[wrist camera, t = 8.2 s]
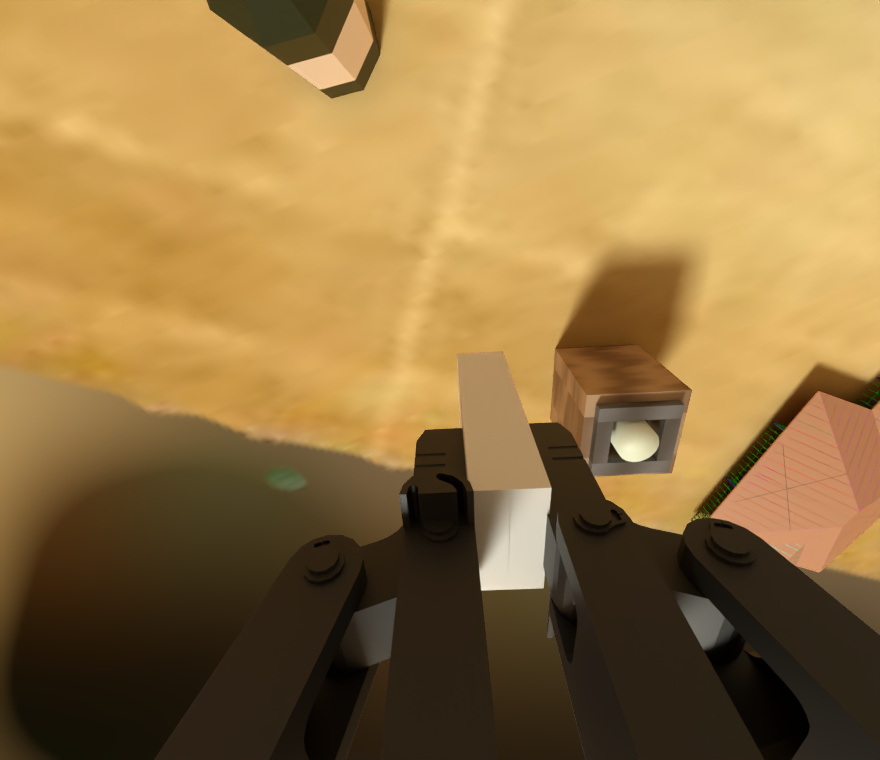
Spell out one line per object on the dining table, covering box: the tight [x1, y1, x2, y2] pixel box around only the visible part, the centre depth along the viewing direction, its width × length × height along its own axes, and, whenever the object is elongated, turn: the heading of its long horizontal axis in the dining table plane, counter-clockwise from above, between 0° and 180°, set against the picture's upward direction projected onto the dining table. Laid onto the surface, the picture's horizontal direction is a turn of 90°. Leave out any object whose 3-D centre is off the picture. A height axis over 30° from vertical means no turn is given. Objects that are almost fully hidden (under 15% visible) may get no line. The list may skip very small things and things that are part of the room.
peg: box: [611, 420, 659, 462], centre depth 45 cm, size 4×4×12 cm
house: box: [691, 377, 880, 572], centre depth 55 cm, size 23×33×8 cm
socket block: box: [550, 345, 692, 477], centre depth 46 cm, size 10×10×13 cm
